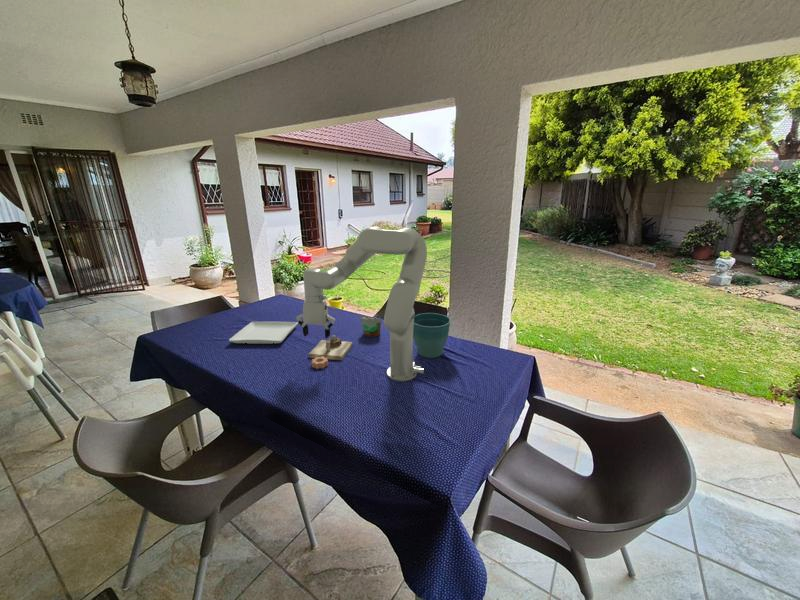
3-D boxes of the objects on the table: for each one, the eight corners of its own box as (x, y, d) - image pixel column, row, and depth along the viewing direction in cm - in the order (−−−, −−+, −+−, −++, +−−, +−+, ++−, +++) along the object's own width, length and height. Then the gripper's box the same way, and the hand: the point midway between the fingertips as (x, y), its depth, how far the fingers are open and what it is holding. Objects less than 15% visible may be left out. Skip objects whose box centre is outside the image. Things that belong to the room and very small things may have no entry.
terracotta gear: (330, 361, 152) (330, 357, 151) (324, 369, 145) (324, 364, 144) (315, 360, 153) (315, 355, 152) (309, 368, 146) (308, 363, 146)
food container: (356, 335, 181) (355, 317, 178) (363, 331, 186) (362, 314, 183) (376, 339, 175) (375, 321, 173) (382, 335, 181) (381, 318, 178)
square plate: (282, 347, 168) (281, 340, 167) (228, 346, 169) (227, 339, 168) (299, 327, 194) (298, 320, 193) (252, 327, 195) (251, 320, 194)
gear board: (352, 345, 168) (352, 333, 167) (341, 360, 153) (341, 347, 151) (322, 343, 171) (321, 331, 169) (308, 357, 156) (307, 344, 154)
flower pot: (447, 363, 150) (449, 327, 145) (408, 359, 153) (408, 325, 148) (450, 346, 167) (451, 314, 162) (414, 343, 170) (414, 311, 165)
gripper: (337, 296, 142) (338, 334, 147) (298, 294, 145) (301, 331, 150) (330, 302, 135) (332, 341, 140) (290, 299, 138) (294, 337, 143)
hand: (316, 336), depth 145 cm, fingers open, 9 cm apart
